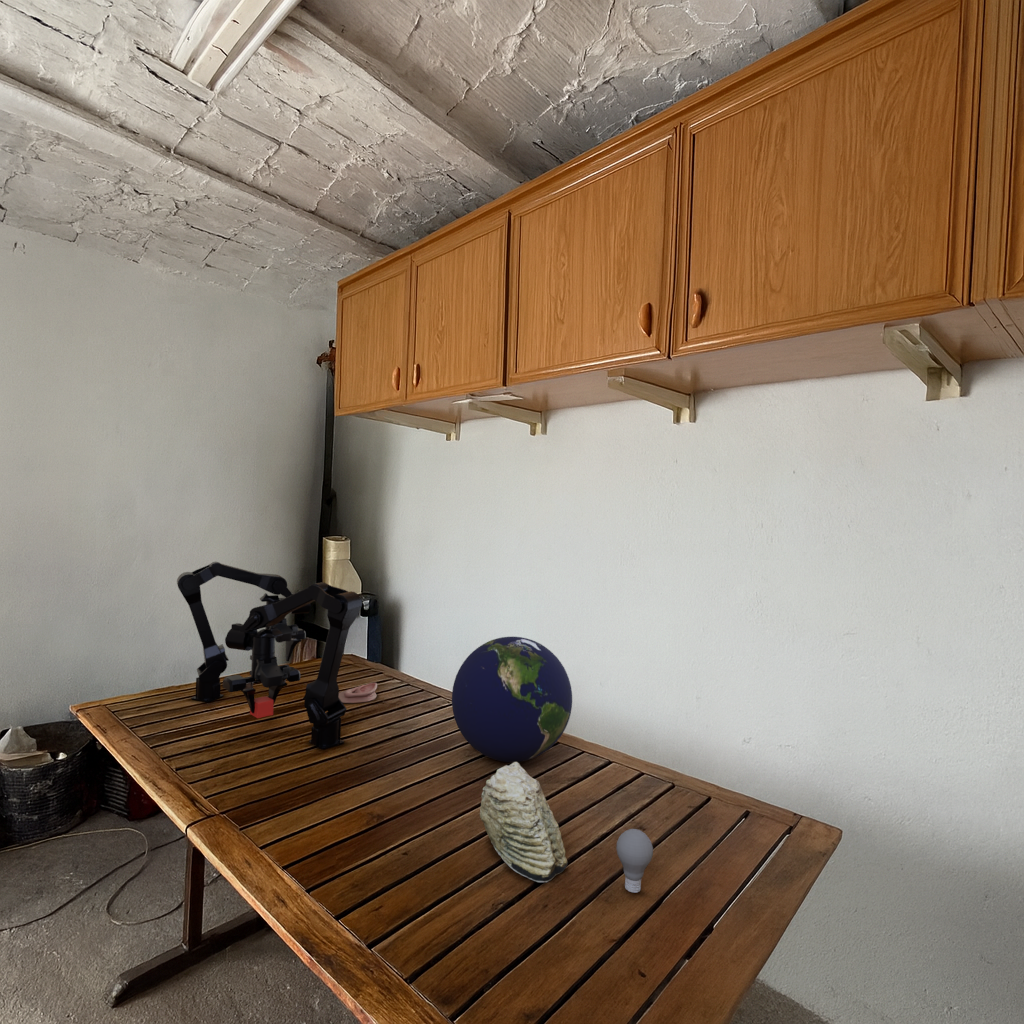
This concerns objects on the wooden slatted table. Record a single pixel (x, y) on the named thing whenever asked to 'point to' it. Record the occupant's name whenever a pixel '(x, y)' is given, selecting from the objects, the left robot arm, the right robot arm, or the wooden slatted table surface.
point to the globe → (512, 699)
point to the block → (263, 707)
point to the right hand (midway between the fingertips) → (261, 710)
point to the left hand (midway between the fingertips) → (273, 663)
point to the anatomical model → (359, 694)
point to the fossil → (522, 824)
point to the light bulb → (634, 857)
